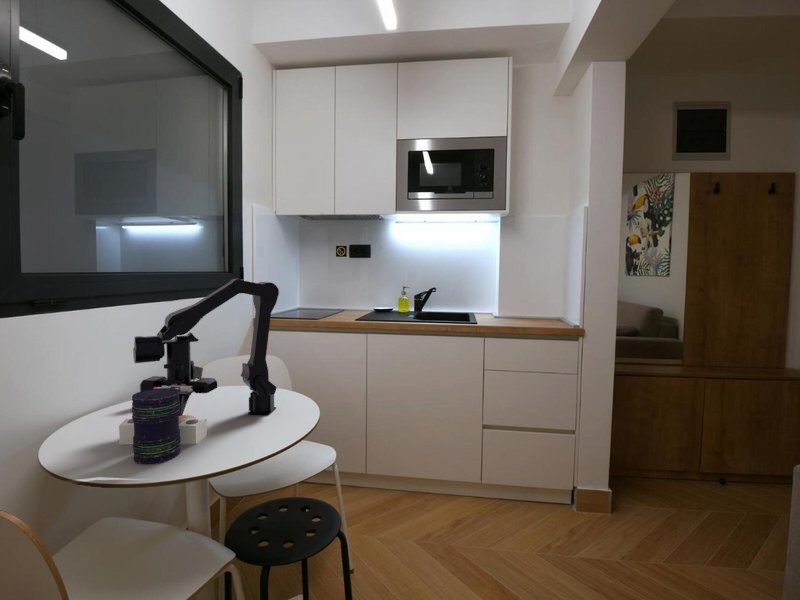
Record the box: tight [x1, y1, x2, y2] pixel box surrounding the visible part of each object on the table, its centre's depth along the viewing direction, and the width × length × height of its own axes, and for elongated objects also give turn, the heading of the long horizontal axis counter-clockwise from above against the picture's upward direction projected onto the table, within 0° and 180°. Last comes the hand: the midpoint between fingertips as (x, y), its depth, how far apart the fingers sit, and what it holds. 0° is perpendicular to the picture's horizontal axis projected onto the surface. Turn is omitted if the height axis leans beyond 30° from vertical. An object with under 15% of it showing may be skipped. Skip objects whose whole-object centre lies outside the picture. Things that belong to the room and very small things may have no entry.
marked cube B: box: [118, 418, 134, 446], centre depth 109 cm, size 5×5×5 cm
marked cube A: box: [179, 418, 208, 445], centre depth 109 cm, size 5×5×5 cm
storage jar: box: [131, 387, 181, 466], centre depth 100 cm, size 10×10×15 cm
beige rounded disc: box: [179, 414, 197, 424], centre depth 116 cm, size 8×8×3 cm
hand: (179, 415), depth 116 cm, fingers closed
